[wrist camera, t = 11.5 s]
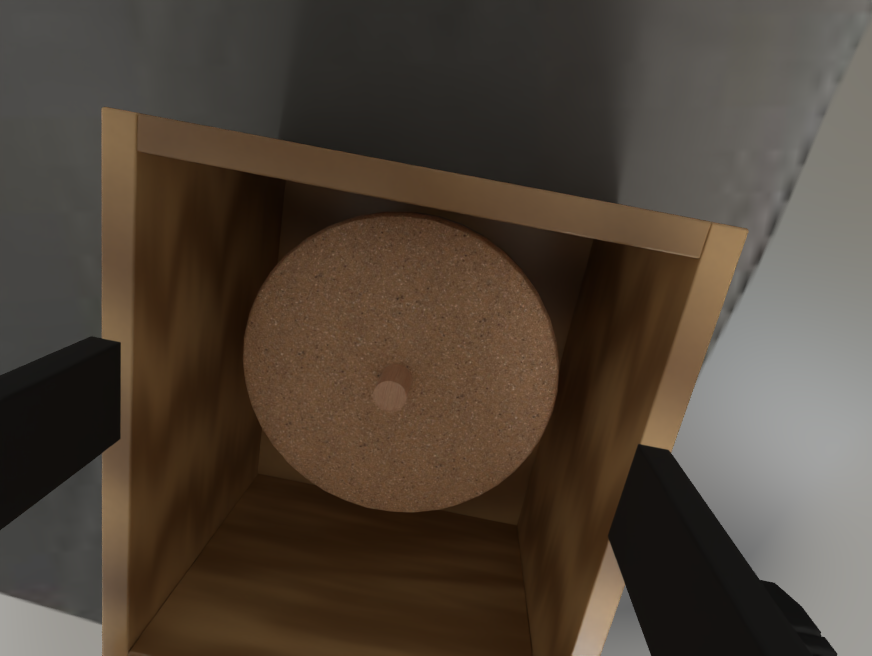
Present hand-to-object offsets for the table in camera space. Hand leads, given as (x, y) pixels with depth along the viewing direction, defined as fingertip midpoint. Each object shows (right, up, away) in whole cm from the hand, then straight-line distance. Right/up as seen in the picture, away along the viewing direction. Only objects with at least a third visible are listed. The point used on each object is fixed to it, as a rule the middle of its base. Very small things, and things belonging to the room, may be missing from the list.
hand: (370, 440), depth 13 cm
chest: (+1, +2, +13) cm, 13 cm away
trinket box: (+1, +3, +12) cm, 12 cm away
